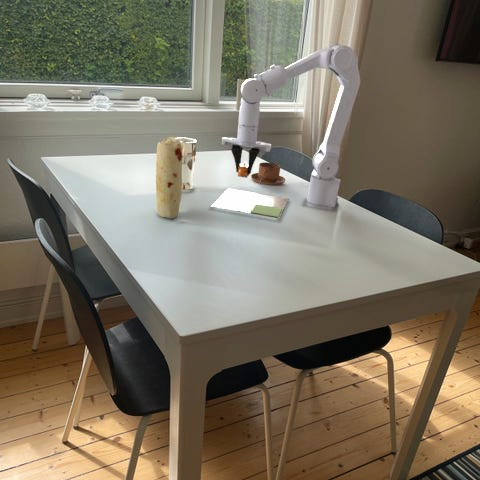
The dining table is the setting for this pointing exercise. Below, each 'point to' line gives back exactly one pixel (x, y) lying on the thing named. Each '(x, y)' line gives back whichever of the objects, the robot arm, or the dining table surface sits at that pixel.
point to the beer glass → (188, 161)
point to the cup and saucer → (268, 174)
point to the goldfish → (243, 170)
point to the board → (248, 201)
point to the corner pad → (266, 210)
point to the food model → (169, 177)
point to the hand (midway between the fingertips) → (243, 172)
